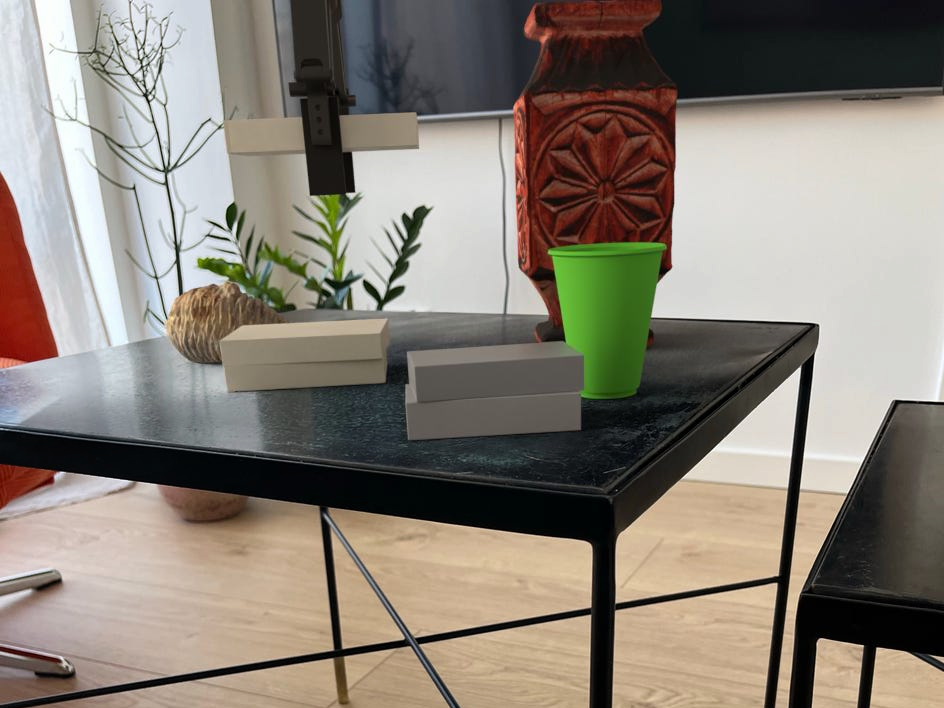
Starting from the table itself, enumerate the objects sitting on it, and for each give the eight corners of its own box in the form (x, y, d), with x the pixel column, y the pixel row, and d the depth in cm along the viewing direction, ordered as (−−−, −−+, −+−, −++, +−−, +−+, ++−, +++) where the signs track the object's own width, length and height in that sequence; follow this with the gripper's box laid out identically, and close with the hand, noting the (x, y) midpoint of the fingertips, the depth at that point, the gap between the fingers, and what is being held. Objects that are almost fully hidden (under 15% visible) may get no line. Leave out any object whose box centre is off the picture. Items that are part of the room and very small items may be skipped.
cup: (536, 402, 79) (532, 253, 75) (567, 381, 87) (566, 243, 82) (650, 406, 76) (653, 250, 72) (672, 383, 84) (676, 241, 80)
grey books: (408, 441, 70) (402, 367, 67) (408, 417, 76) (403, 349, 74) (586, 430, 70) (586, 356, 68) (570, 408, 77) (569, 340, 75)
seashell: (173, 395, 111) (123, 313, 104) (230, 343, 116) (186, 261, 109) (258, 401, 103) (210, 313, 96) (315, 345, 108) (273, 258, 101)
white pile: (225, 393, 89) (217, 341, 87) (243, 372, 99) (236, 325, 97) (390, 384, 90) (386, 332, 88) (392, 364, 99) (388, 317, 98)
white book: (226, 153, 76) (222, 120, 75) (248, 156, 85) (245, 126, 84) (418, 145, 76) (416, 112, 75) (419, 148, 85) (417, 119, 84)
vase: (643, 331, 112) (650, 14, 99) (670, 349, 99) (682, -10, 87) (518, 338, 112) (509, 21, 99) (529, 357, 99) (521, -2, 87)
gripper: (343, -201, 62) (373, 193, 72) (364, -107, 83) (386, 190, 92) (220, -197, 62) (267, 198, 71) (272, -103, 83) (303, 194, 92)
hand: (334, 194), depth 82 cm, fingers closed on white book, 10 cm apart
